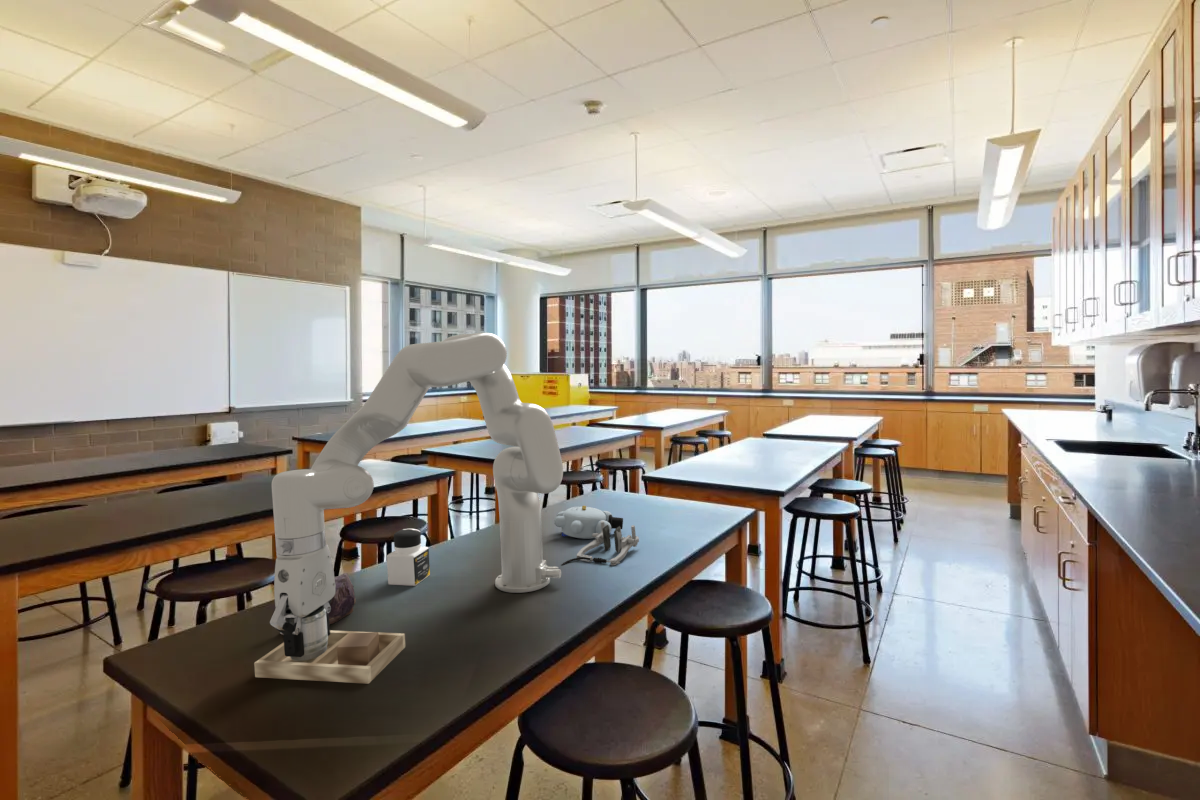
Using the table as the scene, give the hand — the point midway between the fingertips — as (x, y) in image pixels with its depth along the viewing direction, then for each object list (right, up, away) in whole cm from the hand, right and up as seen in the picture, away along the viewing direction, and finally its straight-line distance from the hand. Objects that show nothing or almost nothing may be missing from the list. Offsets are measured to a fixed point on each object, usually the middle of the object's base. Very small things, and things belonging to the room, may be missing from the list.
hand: (308, 644), depth 100 cm
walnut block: (+9, -2, -1) cm, 10 cm away
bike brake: (+51, +1, +51) cm, 72 cm away
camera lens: (0, -2, 0) cm, 2 cm away
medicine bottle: (+5, -1, +39) cm, 39 cm away
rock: (-4, -3, +17) cm, 18 cm away
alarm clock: (+47, +2, +72) cm, 86 cm away
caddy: (+5, -3, -1) cm, 6 cm away
